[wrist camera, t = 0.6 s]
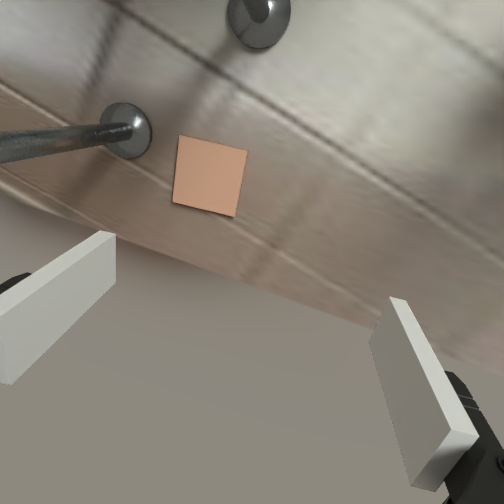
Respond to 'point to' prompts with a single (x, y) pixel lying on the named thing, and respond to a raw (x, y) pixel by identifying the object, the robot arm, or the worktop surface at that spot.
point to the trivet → (209, 175)
